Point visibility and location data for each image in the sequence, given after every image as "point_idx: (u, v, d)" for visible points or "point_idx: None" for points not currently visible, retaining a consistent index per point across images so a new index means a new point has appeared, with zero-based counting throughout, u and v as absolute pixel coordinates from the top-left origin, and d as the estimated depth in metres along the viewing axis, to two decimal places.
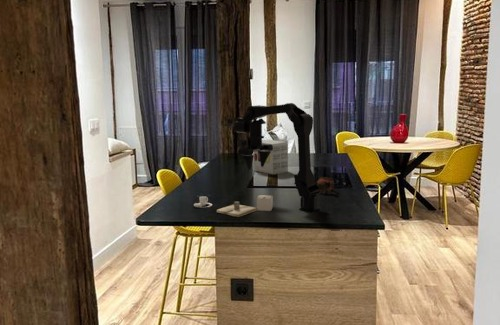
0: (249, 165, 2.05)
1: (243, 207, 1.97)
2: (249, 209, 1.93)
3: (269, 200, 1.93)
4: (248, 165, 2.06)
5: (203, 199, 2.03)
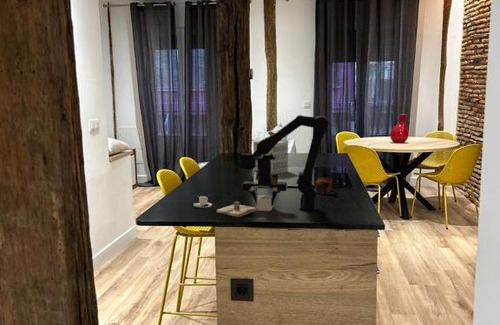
0: None
1: (243, 207, 1.97)
2: (249, 209, 1.93)
3: (269, 200, 1.93)
4: None
5: (203, 199, 2.03)
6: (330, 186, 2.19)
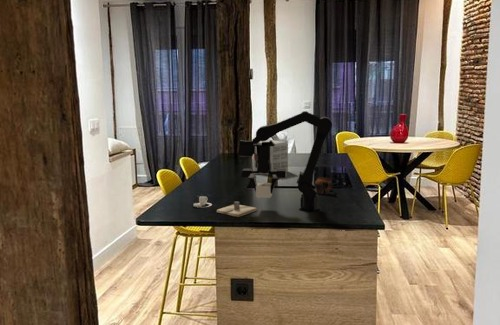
0: None
1: (243, 207, 1.97)
2: (249, 209, 1.93)
3: (268, 187, 1.93)
4: None
5: (203, 199, 2.03)
6: (329, 186, 2.19)
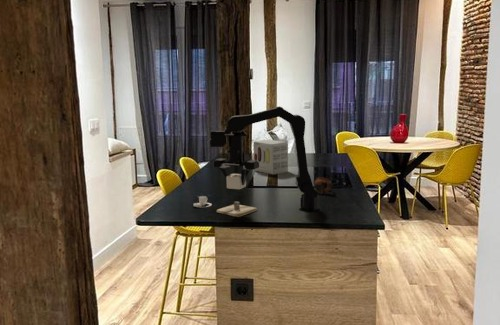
0: None
1: (243, 207, 1.97)
2: (249, 209, 1.93)
3: (238, 178, 1.88)
4: None
5: (203, 199, 2.03)
6: (329, 186, 2.19)
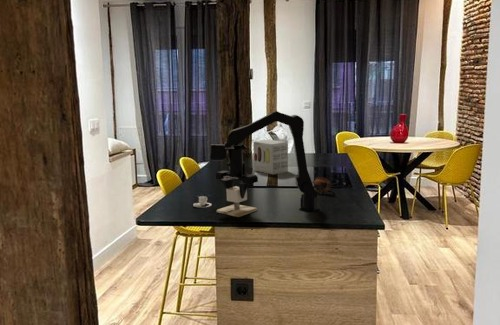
0: None
1: (243, 207, 1.97)
2: (249, 209, 1.93)
3: (236, 192, 1.89)
4: None
5: (202, 199, 2.03)
6: (328, 186, 2.19)
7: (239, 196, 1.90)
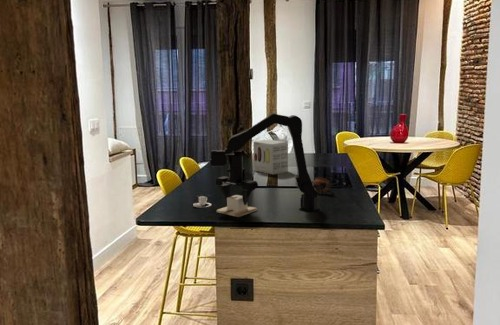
0: None
1: None
2: (249, 209, 1.93)
3: (236, 200, 1.90)
4: None
5: (202, 199, 2.03)
6: (327, 186, 2.19)
7: (239, 205, 1.91)
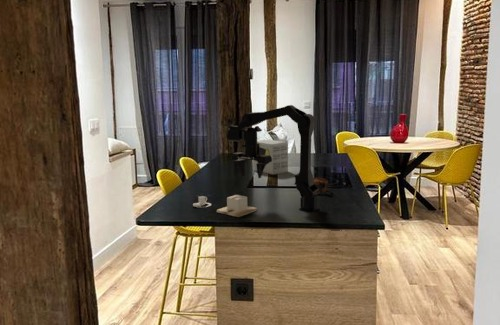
0: None
1: None
2: (249, 209, 1.93)
3: (236, 200, 1.90)
4: None
5: (202, 199, 2.03)
6: (326, 186, 2.19)
7: (239, 205, 1.91)
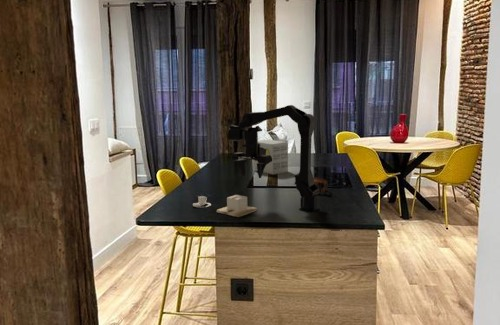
0: None
1: None
2: (249, 209, 1.93)
3: (236, 200, 1.90)
4: None
5: (202, 199, 2.03)
6: (325, 186, 2.19)
7: (239, 205, 1.91)
